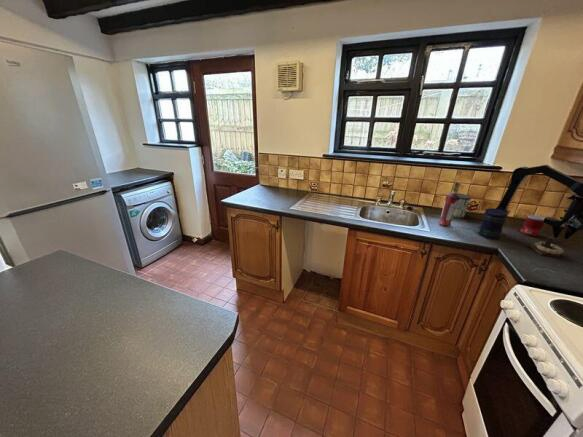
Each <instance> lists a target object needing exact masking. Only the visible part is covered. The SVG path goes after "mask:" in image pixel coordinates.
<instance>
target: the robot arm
mask: <svg viewBox="0 0 583 437" xmlns="http://www.w3.org/2000/svg"><path fill="white" fill-rule="evenodd" d="M539 174H542V175H544V176H545V177H547V178H550V179H552V180H553V181H556V182H558V183H560V184H561V185H564V186H565V187H567V188H569V190H571V192H572V193H574V194H572V195H569V196H567V197H566V199H567V200H570V203H569V205H568V207H567V208H564V210H563V212H564V214H563V216H560V217H559V219H558V218H557V217H552V216H551V217H550V216H546V217H543V218H544V220H543V222H544V224H547V225H549V226H550V227H551V228H552V233H553V238H554V239H558V237H559V236H560V234H561V232H562V231H563V230H565V229H566V230H565V233H564V236H563V237H564V239H565V240H568V239H569V238H570V237H572V236H573V235H574V234H576V233H577V232H581V231H583V180H580V179H576V178H574V177H572V176H570V175H568V174H566V173H564V172H562V171H560V170H557V169H556V168H553V167H552V166H550V165H549V164H542V165H538V166H530V167H528V166H520V167H517V168H515V169H513V171H512V173H511V176H510V183H509V185H508V187H507V189H506V190H505V193H504V195H503V196H502V198H501V200H500V202H499V204H498V205H497V206H496V208H495V209H500V210H504V211H506V212H507V216H506V218H508V215H509V214H510V212H511V210H509V206H510V204H511V202H512V201H513V198H514V197H515V195H516V193H517V192H518V190H519V188H520V186H521V185H522V183H524V181H525V180H526V179H527V178H529V176H533V175H539ZM566 225H567V227H565V226H566ZM480 227H481V226H479V227H478V228H479V229H480Z"/></svg>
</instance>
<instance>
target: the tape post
mask: <svg viewBox="0 0 583 437" xmlns="http://www.w3.org/2000/svg"><path fill="white" fill-rule="evenodd" d="M554 239H555V238H554V237H551V236H548V237H547V238H546V240H545V241H544V242H545V244H544V247H546V248H549V246H550V245H551V244H553V241H554ZM527 248H530V249H531V250H532V251H534V252H535V253H537V254H538V255H540V256H542V257H543V256H546V257H556V258H561V257H562V254H560V255H554V254H549V253H546V252H543V251H541V250H539V249H537V248H536V247H535V245H534V244H528V245H527ZM549 249H551V248H549Z"/></svg>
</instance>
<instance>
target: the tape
mask: <svg viewBox="0 0 583 437" xmlns="http://www.w3.org/2000/svg"><path fill="white" fill-rule="evenodd" d="M545 242H546V241H536V242H534V244H533V245H535V247H536V248H537V249H539V250H541V251H543V252H546V253H549V254H554V255H560V254H561V255H563V254H564V253H565V251H564V249H563V248H562V247H560V246H559V245H557V244H553V243H551V245H550V246H549V248H551V249H549V248H546V247H544V244H545Z"/></svg>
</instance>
